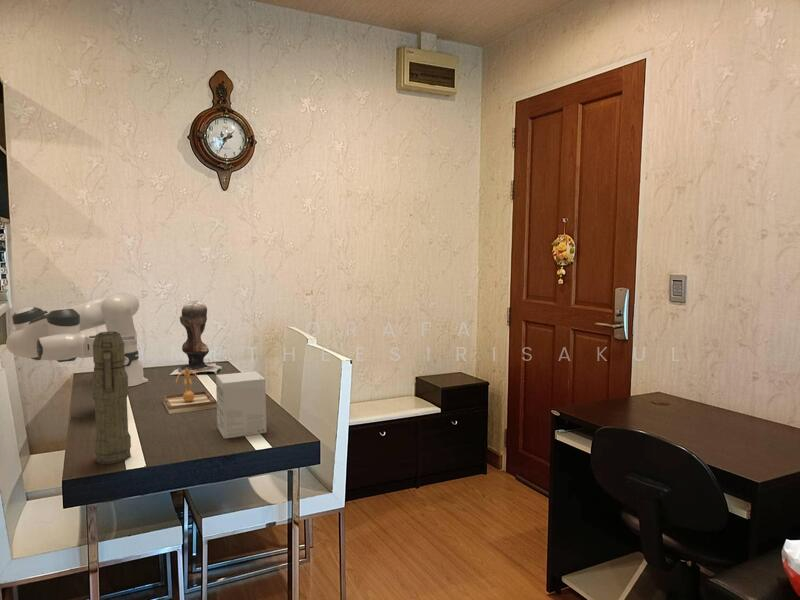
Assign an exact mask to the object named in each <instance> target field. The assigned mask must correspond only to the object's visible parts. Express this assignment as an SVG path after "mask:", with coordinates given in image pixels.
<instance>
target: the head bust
mask: <svg viewBox="0 0 800 600" xmlns="http://www.w3.org/2000/svg"><path fill="white" fill-rule="evenodd" d="M207 314H208V308H207V306H206V304H205V303H203V302H200V301H199V300H191V301H189V302H187V303H186V304H184V305H183V306H182V309H181V315H180V316H179V321H180V325H182V326H183V327H184V328H185V332H186V335H187V336H186V337H187V338H186V341H184V343H183V344H182V347H181V350H182V352H183V353H184V354H186V356H187V358H188V363H186V364H185V365H183V366H182V365H181V366H179V367H178V368H176V369H174V370H173V371H172V372H171V373H170V374H169V376H175V375H177V376H178V375H179V374H181V373H182V372H184V371H185V370H186V369H188V370H189V371H191V372H194V373H196V374H197V373H208V372H212V373H214V374H216V375H218V374H217V373H218V371H219V370H223V366H220V365H218V364H217V363H215V362H214V363H213V362H212V363H208V362H207V363H206V362H205V358H206V355H208V354H209V352H210V350H209V348H208V345H207V344H205V343H204V342H203V341H202V334H203V333H204V331H205V328H206V323H207V321H208V317H207Z"/></svg>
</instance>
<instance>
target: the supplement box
mask: <svg viewBox="0 0 800 600" xmlns="http://www.w3.org/2000/svg"><path fill="white" fill-rule="evenodd" d="M215 381H216V382H215V385H216V386H215V388H216V391H215V393H216V427H217V429H218V431H219V433H220V435H221V436H222V437H223V439H232V438H238V437H244V436H245V437H246V436H252V435H258V434H266V433H268V432H267V399H266V398H267V397H266V393H267V392H266V378H265V377H263V376H262V375H261V374H260V373H259V372H257V371H256V370H254V371H244V372H234V373H233V372H232V373H223V374H216V375H215Z"/></svg>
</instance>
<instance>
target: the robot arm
mask: <svg viewBox="0 0 800 600" xmlns="http://www.w3.org/2000/svg"><path fill="white" fill-rule="evenodd" d="M139 308H140V301H139V299H138V298H137V296H135V295H134V294H132V293H130V292H121V293H117V294H113V295H112V294H111V295H109V296H106V297H102V298H98V299H94V300H90V301H86V302H81V303H79V304H75V305H71V306H66V307H60V308H56V309H54V310H51V311H48V310H43V309H42V308H40V307H36V306H27V307H22V308H21V309H20V308H19V310H17V311H16V312H15V313H13V315H12V316H11V318H12V324H13V325H14V327H15V331H13V332H11V333H10V334H9V335H8V336H7V338H6V341H5V346H6V349H7V350H8V351H9V352H10V353H11V354H13V355H15V356H17V357H21V358H28V359H29V358H30V359H31V360H34V361H56V362H58V363H65V362H74V361H76V359H77V358H78V359H79V358H80V359H85V358H86V359H87V358H93V342H94V339H95V335H97V334H98V332H97V331H96V330H95V331H94V330H93V331H87V330H90V329H93V328H97V327H100V326H101V327H102V326H104V325H105V328H106V332H118V333H120V334H121V337H122V339H123V342H124V356H125V360H124V365H125V370H126V373H127V375H128V388H129V387H134V386H138V385H141V384H144V383H148V382H149V379H148V378H146V377H144V367H143V363H142V362H141V361H140V360H139V356H140V354H139V350H138V336H137V335H138V333H137V331H136V327H135V325H134V318H133V316H134V315H136V314H137V313H138V311H139ZM85 330H86V331H85Z"/></svg>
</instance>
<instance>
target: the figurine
mask: <svg viewBox="0 0 800 600" xmlns="http://www.w3.org/2000/svg"><path fill="white" fill-rule="evenodd" d="M182 375H183V376H184V379H183V384H184V389H185V391H184V394H183V399H184V400H185V401H186V402H190V401H192V400H193V399H194V393H193V392H194V391H192V389H191V387H192V378H190V375H195V377H196V379H197V380H198V381H200V377H199V376H198V375H197V372H196V373H194V372H191V371H189V370H188V369H186V370H185V371H184V372H182V373H181V374H177V378H176V379H175V383H178V380H179V378H180V376H182ZM187 384H189V386H188V387H189V389H188V387H187Z"/></svg>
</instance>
